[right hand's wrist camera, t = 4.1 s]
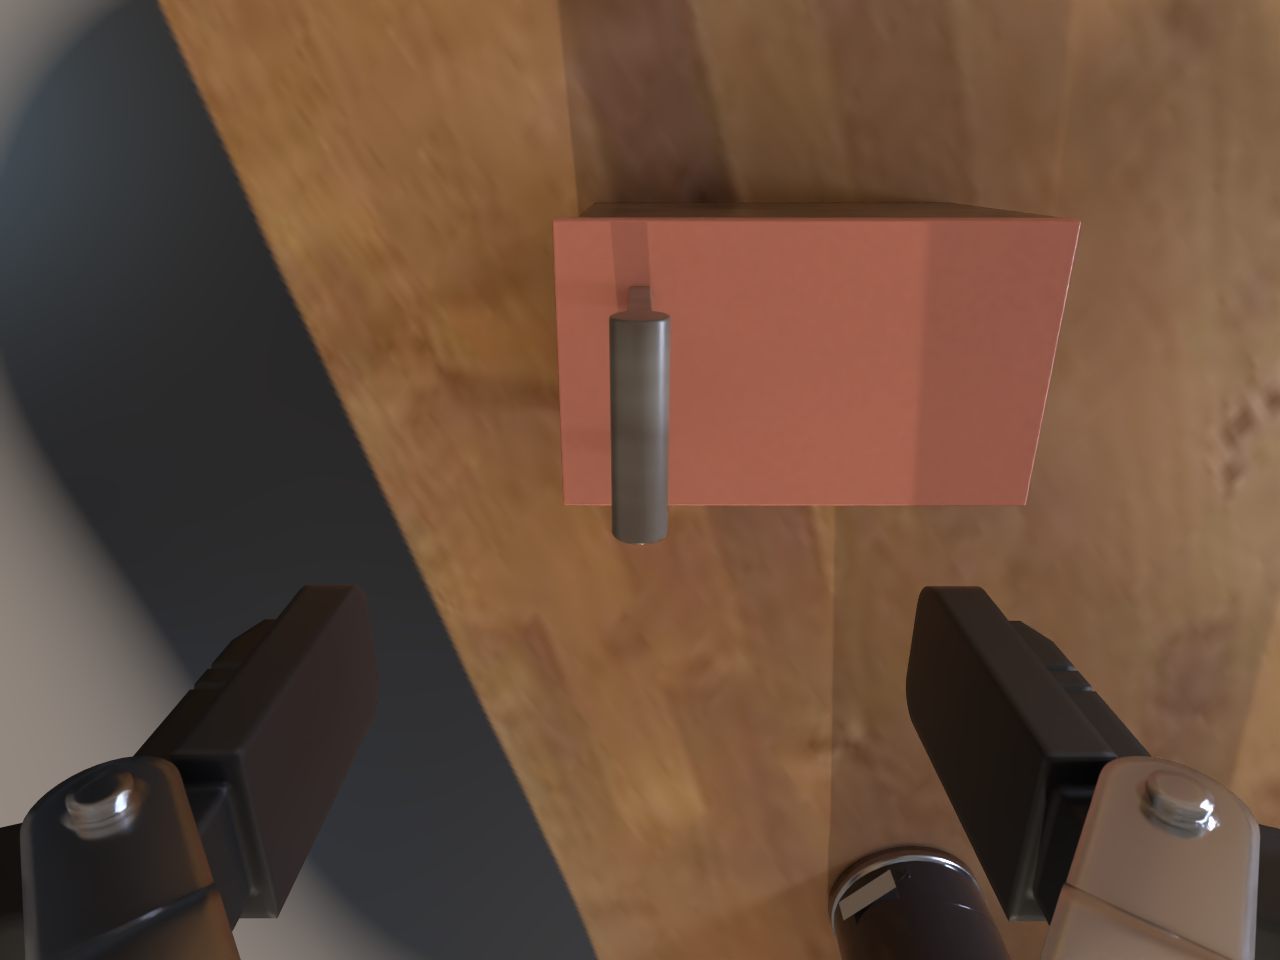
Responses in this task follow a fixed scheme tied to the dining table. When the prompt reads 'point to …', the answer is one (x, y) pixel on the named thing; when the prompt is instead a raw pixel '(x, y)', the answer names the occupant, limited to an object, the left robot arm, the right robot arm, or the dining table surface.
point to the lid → (803, 360)
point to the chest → (798, 210)
